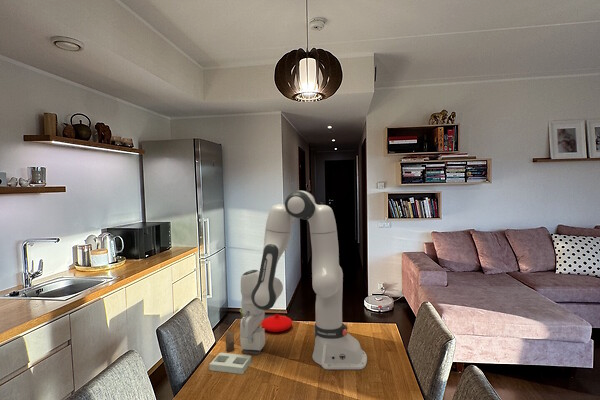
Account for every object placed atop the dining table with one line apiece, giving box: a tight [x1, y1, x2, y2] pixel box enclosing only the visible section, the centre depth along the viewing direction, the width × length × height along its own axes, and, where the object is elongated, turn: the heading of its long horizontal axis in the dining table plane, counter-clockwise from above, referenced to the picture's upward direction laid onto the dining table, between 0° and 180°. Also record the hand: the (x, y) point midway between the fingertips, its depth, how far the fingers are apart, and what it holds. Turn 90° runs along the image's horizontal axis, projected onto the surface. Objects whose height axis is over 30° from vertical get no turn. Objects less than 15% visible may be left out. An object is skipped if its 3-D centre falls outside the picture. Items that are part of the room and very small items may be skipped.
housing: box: [239, 327, 266, 351], centre depth 141 cm, size 9×6×7 cm, turn 77°
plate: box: [241, 348, 263, 355], centre depth 141 cm, size 7×4×4 cm, turn 77°
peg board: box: [208, 352, 252, 375], centre depth 129 cm, size 14×9×2 cm, turn 77°
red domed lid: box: [260, 313, 293, 333], centre depth 163 cm, size 16×16×7 cm
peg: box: [225, 329, 235, 353], centre depth 142 cm, size 4×4×8 cm
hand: (253, 338), depth 141 cm, fingers closed on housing, 6 cm apart
